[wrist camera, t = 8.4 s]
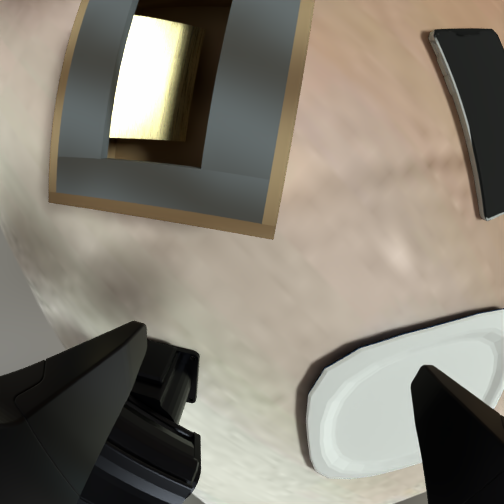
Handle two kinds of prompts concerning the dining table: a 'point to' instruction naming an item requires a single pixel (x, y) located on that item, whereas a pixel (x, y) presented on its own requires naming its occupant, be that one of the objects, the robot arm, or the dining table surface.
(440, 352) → the plate
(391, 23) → the dining table surface
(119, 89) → the wooden block
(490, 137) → the smartphone
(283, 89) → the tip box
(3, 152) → the dining table surface
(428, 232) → the dining table surface
